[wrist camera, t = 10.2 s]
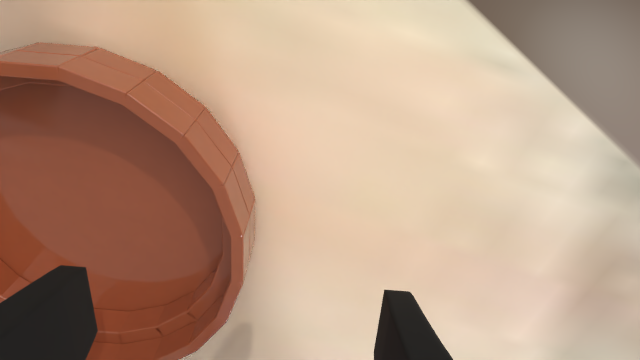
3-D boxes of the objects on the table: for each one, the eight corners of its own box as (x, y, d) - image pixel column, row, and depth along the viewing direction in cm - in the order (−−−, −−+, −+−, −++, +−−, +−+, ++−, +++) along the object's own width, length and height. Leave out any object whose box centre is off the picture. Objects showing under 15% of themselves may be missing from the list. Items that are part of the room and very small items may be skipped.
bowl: (254, 330, 24) (243, 387, 21) (-18, 308, 24) (-70, 363, 21) (259, 57, 18) (243, 81, 15) (-108, 26, 18) (-201, 44, 15)
